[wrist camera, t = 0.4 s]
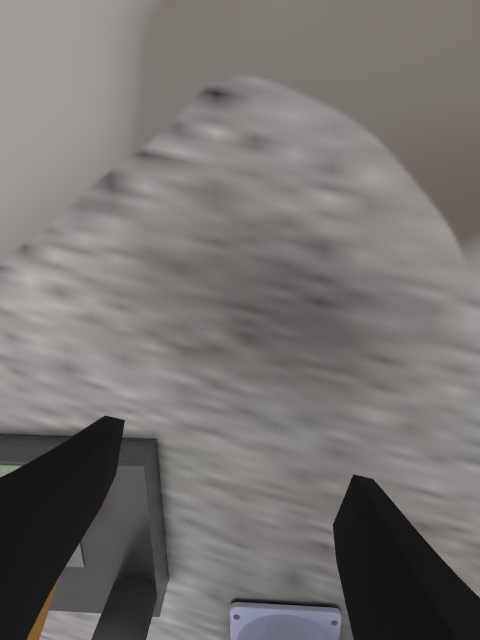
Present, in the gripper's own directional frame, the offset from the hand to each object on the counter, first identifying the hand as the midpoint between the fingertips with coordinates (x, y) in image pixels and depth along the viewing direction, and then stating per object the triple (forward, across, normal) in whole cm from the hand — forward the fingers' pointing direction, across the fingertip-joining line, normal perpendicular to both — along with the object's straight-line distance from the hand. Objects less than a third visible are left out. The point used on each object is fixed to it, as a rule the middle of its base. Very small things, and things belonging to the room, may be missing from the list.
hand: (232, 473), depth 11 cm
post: (+8, +3, +17) cm, 19 cm away
